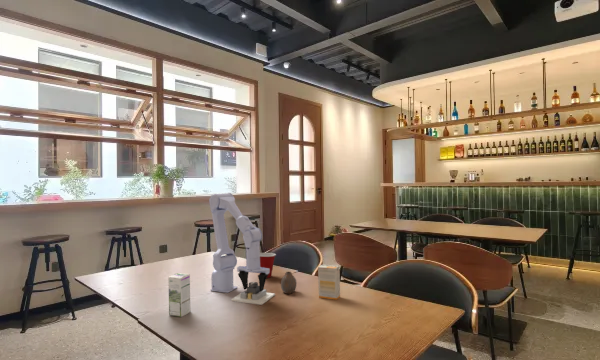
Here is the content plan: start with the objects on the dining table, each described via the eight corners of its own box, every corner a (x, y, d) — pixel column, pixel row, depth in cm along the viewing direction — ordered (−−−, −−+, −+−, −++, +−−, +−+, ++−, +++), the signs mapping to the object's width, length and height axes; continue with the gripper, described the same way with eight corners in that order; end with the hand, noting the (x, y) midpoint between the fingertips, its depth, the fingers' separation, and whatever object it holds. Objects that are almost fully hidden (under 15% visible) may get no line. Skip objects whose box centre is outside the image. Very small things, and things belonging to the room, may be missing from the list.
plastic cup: (280, 275, 176) (280, 252, 176) (267, 280, 167) (267, 256, 167) (264, 272, 182) (263, 250, 182) (251, 277, 173) (250, 254, 173)
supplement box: (340, 296, 142) (340, 265, 142) (337, 300, 137) (336, 268, 137) (322, 294, 145) (321, 263, 145) (318, 297, 141) (317, 266, 141)
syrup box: (191, 311, 128) (190, 273, 128) (181, 317, 122) (180, 277, 122) (178, 310, 130) (178, 272, 130) (168, 315, 124) (167, 276, 124)
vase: (294, 294, 145) (294, 274, 145) (279, 294, 146) (278, 274, 146) (298, 289, 152) (297, 270, 152) (283, 289, 153) (282, 269, 153)
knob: (251, 294, 144) (251, 281, 144) (260, 295, 143) (259, 281, 143) (245, 298, 139) (244, 284, 139) (253, 299, 138) (253, 285, 138)
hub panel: (231, 300, 139) (231, 294, 139) (246, 292, 150) (246, 285, 150) (261, 304, 134) (261, 297, 134) (274, 295, 145) (274, 288, 145)
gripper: (233, 258, 141) (233, 290, 141) (263, 260, 136) (264, 294, 135) (241, 254, 147) (242, 285, 147) (271, 257, 142) (272, 289, 142)
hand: (253, 289), depth 142 cm, fingers open, 7 cm apart
